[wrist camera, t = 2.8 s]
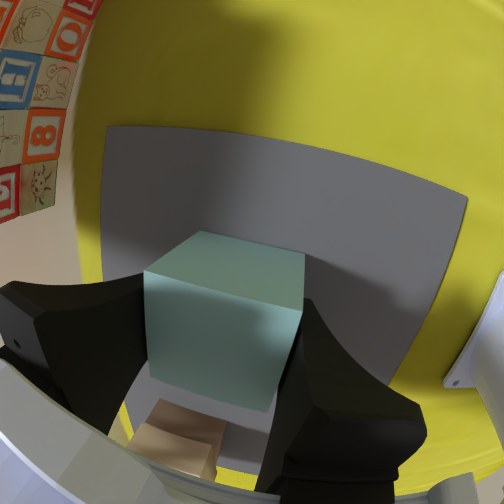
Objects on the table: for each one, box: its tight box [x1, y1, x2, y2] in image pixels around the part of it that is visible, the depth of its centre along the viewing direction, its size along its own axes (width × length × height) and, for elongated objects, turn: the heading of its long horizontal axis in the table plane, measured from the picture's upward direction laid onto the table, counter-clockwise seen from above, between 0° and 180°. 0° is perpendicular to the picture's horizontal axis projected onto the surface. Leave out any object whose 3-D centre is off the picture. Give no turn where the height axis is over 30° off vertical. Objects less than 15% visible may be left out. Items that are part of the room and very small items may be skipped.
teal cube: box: [144, 231, 305, 413], centre depth 10 cm, size 4×4×4 cm
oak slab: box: [126, 423, 217, 482], centre depth 13 cm, size 5×5×2 cm
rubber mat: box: [101, 126, 467, 476], centre depth 14 cm, size 17×26×1 cm, turn 170°
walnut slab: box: [145, 398, 227, 464], centre depth 16 cm, size 5×5×2 cm
